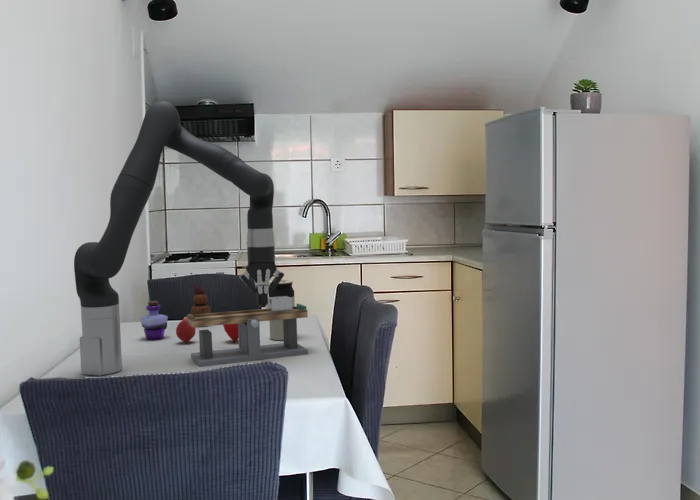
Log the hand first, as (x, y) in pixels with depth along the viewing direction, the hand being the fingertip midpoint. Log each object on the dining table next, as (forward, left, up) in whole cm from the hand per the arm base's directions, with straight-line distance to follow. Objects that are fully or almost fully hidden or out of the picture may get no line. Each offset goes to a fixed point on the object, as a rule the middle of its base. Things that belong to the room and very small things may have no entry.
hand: (262, 306), depth 188 cm
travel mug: (+21, +5, -14) cm, 25 cm away
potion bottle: (+10, +45, -14) cm, 48 cm away
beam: (-3, +3, -3) cm, 5 cm away
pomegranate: (+7, +31, -14) cm, 34 cm away
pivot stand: (-3, +3, -13) cm, 14 cm away
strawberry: (+12, +17, -14) cm, 25 cm away
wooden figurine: (+33, +43, -14) cm, 56 cm away
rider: (+4, -3, -2) cm, 5 cm away
